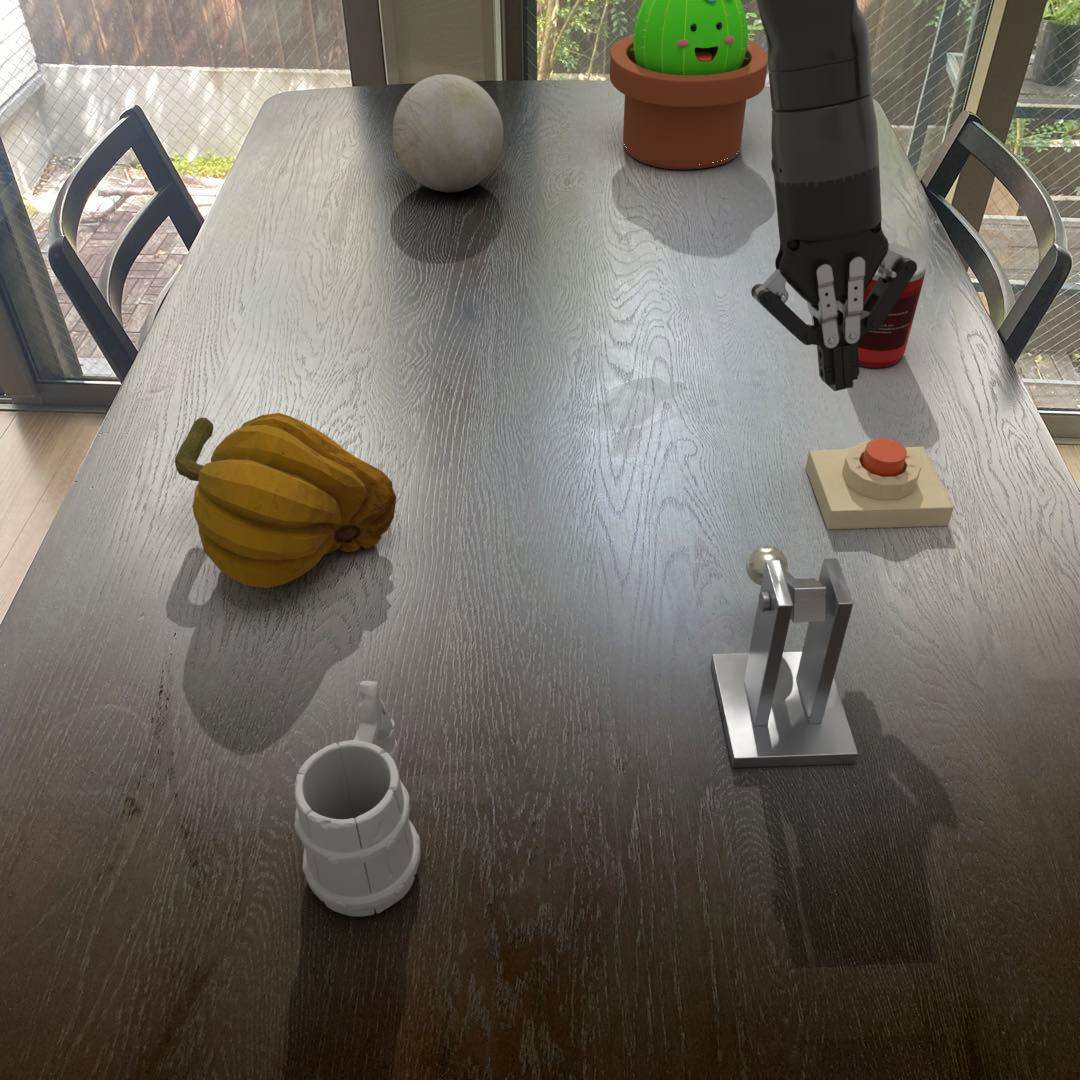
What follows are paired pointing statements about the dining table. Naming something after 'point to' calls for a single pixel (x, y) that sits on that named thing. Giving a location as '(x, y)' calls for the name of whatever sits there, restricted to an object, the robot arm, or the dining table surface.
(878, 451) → the button
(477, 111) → the decorative sphere
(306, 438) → the pumpkin
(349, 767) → the mug
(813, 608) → the grey lever handle
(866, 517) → the button box
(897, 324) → the canned food
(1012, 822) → the dining table surface
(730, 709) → the metal lever switch
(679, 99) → the potted cactus
